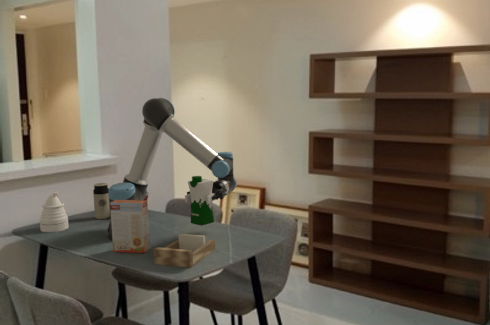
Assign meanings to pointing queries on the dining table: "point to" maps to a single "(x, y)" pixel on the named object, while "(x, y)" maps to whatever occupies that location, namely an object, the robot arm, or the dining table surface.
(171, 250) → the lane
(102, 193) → the travel mug
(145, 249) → the cracker box
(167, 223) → the dining table surface
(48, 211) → the honey pot
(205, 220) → the soya milk
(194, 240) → the block
